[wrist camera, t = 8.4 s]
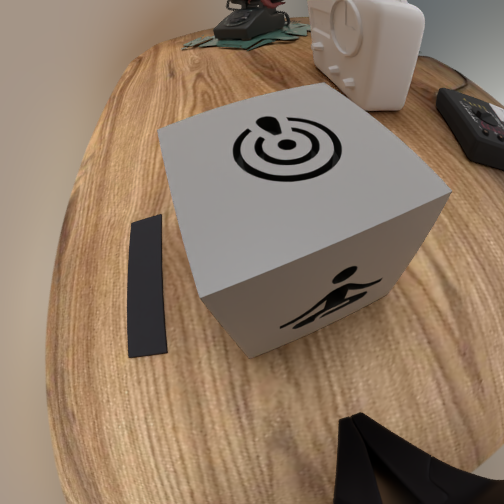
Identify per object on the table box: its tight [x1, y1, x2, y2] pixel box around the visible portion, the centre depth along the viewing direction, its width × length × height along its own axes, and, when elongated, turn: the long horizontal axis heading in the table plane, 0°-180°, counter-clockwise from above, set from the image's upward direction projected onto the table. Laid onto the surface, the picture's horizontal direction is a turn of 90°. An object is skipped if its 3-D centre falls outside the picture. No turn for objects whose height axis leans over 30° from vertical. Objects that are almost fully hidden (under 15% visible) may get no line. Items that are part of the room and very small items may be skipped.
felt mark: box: [127, 214, 168, 358], centre depth 20 cm, size 12×3×1 cm, turn 11°
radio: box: [307, 0, 425, 111], centre depth 22 cm, size 22×8×25 cm, turn 9°
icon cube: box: [157, 83, 452, 359], centre depth 15 cm, size 10×10×10 cm
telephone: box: [181, 0, 311, 51], centre depth 48 cm, size 35×31×20 cm
